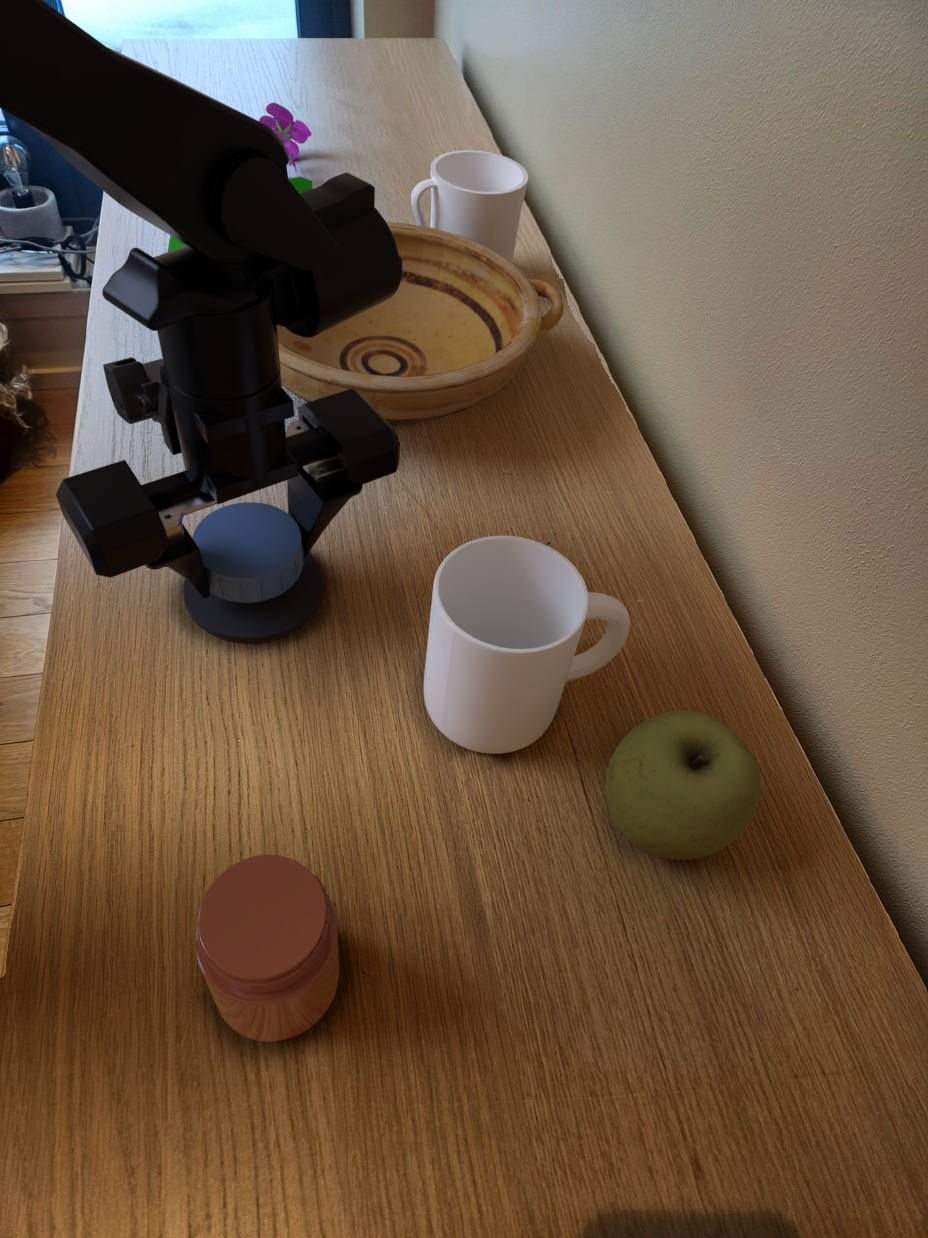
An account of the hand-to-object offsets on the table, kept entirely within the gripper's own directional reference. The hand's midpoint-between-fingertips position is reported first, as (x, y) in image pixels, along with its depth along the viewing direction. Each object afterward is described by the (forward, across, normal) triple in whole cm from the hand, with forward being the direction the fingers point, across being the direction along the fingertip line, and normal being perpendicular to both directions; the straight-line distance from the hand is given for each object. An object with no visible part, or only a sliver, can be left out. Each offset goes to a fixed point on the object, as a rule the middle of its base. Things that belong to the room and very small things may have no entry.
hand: (252, 573), depth 56 cm
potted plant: (+2, -22, -46) cm, 51 cm away
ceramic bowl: (+2, -20, -16) cm, 26 cm away
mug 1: (+2, -35, -27) cm, 44 cm away
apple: (+2, -12, +27) cm, 30 cm away
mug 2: (+2, -10, +16) cm, 19 cm away
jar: (+2, +10, +23) cm, 25 cm away
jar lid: (-3, 0, 0) cm, 3 cm away
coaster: (+2, 0, 0) cm, 2 cm away
